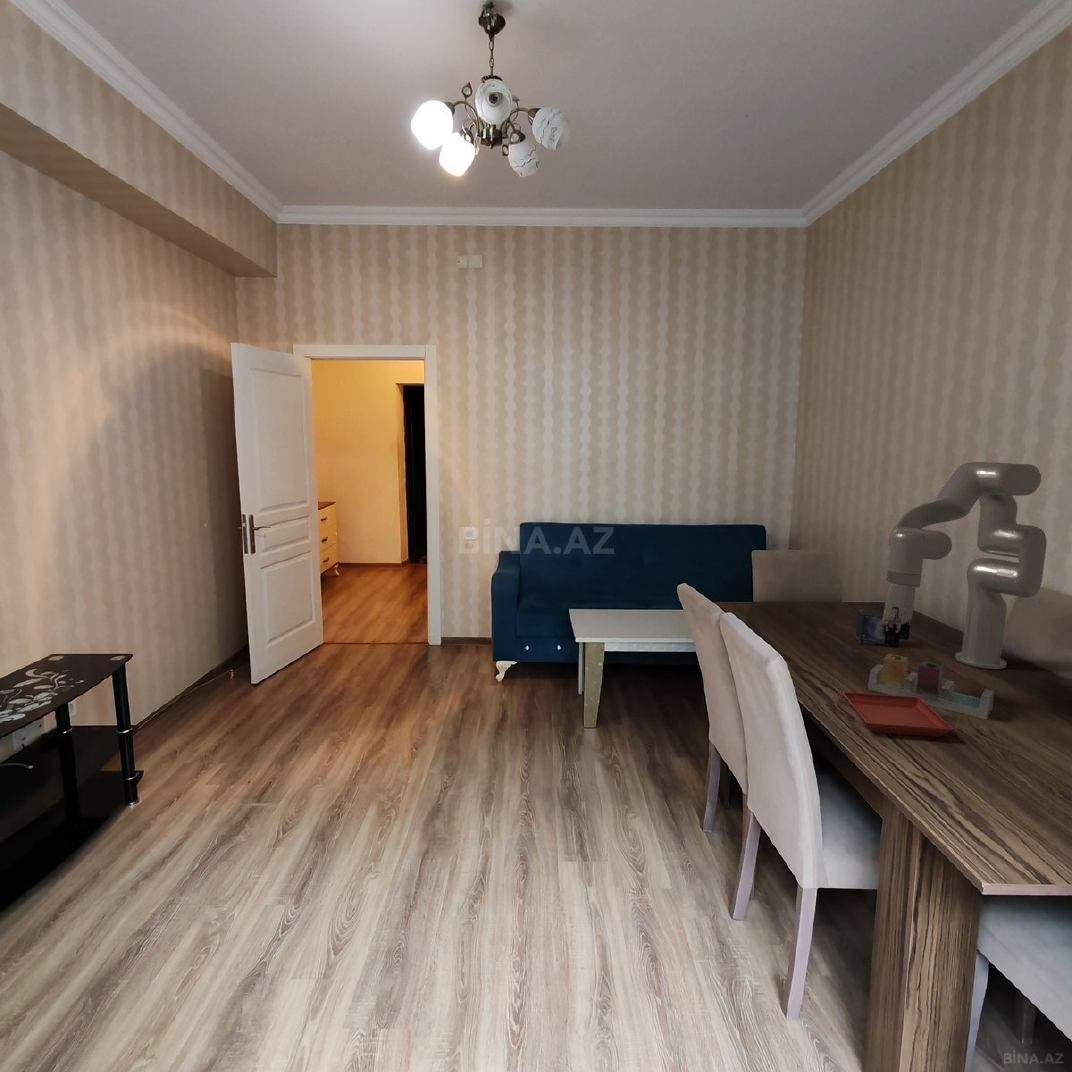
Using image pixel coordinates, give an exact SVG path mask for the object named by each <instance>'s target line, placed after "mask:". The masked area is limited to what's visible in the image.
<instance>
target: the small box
mask: <svg viewBox="0 0 1072 1072" xmlns="http://www.w3.org/2000/svg"><path fill="white" fill-rule="evenodd" d="M857 612H858V613H857V619H856V621H857V622H856V628H855V629H856V631H855V638H854V639H855V640H856V641H857V642H858V644H859V645H861V646H863V645H864V646H871V647H872V646H874V647H883V648H885V647H886V648H890V647H889V646H885V645H884V642H885V633H886V627H887V623H888V621H884V620H883V615H884V610H874V609H873V610H872V609H860V608H859V609H858V611H857Z"/></svg>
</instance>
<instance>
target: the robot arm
mask: <svg viewBox="0 0 1072 1072" xmlns="http://www.w3.org/2000/svg"><path fill="white" fill-rule="evenodd" d="M1041 481H1042V475H1041V472H1040V469H1039V468H1038V467H1037V466H1035V465H1033V464H1028V463H1009V462H990V461H987V462H986V461H985V462H984V461H969V462H965V463H963V464H961V465H959V466H958V467H957V468H956V470H955V471H954V472H953V474H951V476H950V477H949V479H948V480H947V481H946V483H945V484H944V486H943V487H942V489H941V490H940V492H938V494H937V496H936V497H935V498H932V499H930V500H927V501H925V502H923V503H920V504H918V505H917V506H914V507H913V508H911V509H910V510H908V511H906V512H905V513H904V514H903V515H902V516H901V517H900V519H899V520H898V521H897V523H896V524H895V526H893V528H892V530H891V532H890V534H889V536H888V546H889V554H888V555H889V558H888V565H887V566H888V567H887V576H886V577H887V578H886V584H888V588H887V593H886V596H885V603H884V609H883V611H884V615H883V620H884V621H888V623H887V627H886V633H885V642H884V645H885V646H889V647H888V648H895V649H898V648H900V640H904V641H908V640H909V639H910V630H911V619H913V615H914V609H915V598H916V588H920V587H921V583H922V572H923V564H924V560H932V561H933V560H934V561H937V560H940V559H944V558H945V557H947V556H948V555H949V554H950V553H951V551H952V548H953V542H952V539H951V537H950V536H949V535H948V534H947V533H945V532H942V531H939V530H933V529H932V530H931V529H926V527H928V526H932V525H934V524H941V523H947V522H951V521H955V520H960V519H962V518H965V517H966V516H967V515H968V514H969V513H970V512H971V510H972V509H973V507H974V505H975V504H976V503H977V502H978V501H979V504H980V509H979V512H980V513H979V519H978V520H979V521H978V529H977V530H978V531H977V538H976V539H977V541H976V543H977V547H978V549H979V551H981V552H983V553H986V554H988V555H989V554H990V555H994V556H995V555H996V556H1001V557H1002V556H1003V557H1009V558H1015V559H1018V562H1016V561H1011V560H1010V561H1009V560H1006V559H1005V560H1004V559H999V558H998V559H997V558H993V557H991V558H990V557H979V558H976V559H974V560H972V561H971V562H970V563H969V564H968V566H967V569H966V579H967V591H968V592H967V603H966V614H965V621H964V628H963V639H962V647H961V651H958V652H956V653H955V655H954V658H955V660H957V661H958V662H960V663H962V664H964V665H967V666H970V667H976V668H979V669H980V668H981V669H985V670H1002V669H1005V668H1007V661H1006V660H1005V659H1004V658H1001V657H1002V649H1003V642H1004V635H1005V634H1004V633H1005V625H1006V617H1007V613H1008V609H1007V608H1008V607H1007V603H1006V601H1005V599H1004V598H1003V596H1002V594H1004V595H1009V596H1014V597H1020V598H1032V597H1035V596H1036V595H1037V594H1038V593H1039V591H1040V589H1041V586H1042V582H1043V581H1042V580H1043V575H1044V569H1045V568H1044V567H1045V559H1046V552H1047V544H1048V543H1047V536H1046V533H1045V532H1044V530H1043V529H1042V528H1040V527H1038V526H1034V525H1029V524H1021V523H1017V514H1018V503H1017V502H1016V500H1015V497H1016V496H1017V497H1018V496H1019V497H1020V496H1021V497H1025V496H1029V495H1032V494H1034V493H1035V492H1036V491H1037V490H1038V489H1039V487H1040V484H1041V483H1042V482H1041Z"/></svg>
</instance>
